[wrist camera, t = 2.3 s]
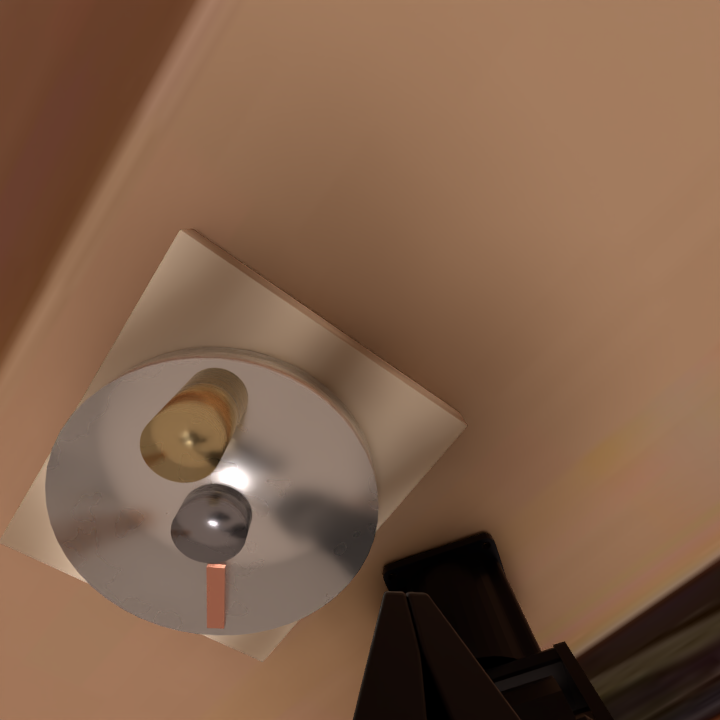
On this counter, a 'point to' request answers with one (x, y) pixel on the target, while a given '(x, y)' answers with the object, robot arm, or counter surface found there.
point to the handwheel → (214, 492)
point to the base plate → (271, 337)
